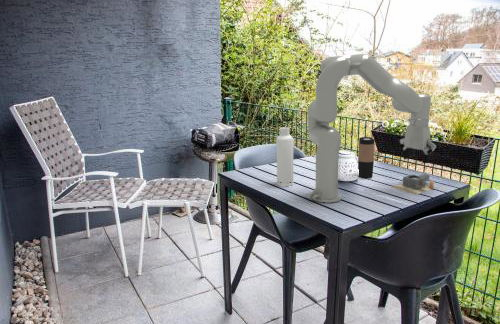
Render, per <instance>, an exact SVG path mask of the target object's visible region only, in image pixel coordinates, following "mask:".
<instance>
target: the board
mask: <svg viewBox="0 0 500 324" xmlns="http://www.w3.org/2000/svg"><path fill="white" fill-rule="evenodd" d="M429 186H430V185H427V184H425V187H424V188H420V189H417V190H414V189H411V188H407V187H404V186H403V183H400V184H397V185H394V186H393V185H392V186H390V188H392V189H395V190H399V191H402V192H406V193H409V194H413V195H418V194H422V193H426V192H429V191H431V190H435V189H436V187H434V186H433V189H430V188H429Z"/></svg>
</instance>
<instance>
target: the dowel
mask: <svg viewBox="0 0 500 324" xmlns="http://www.w3.org/2000/svg"><path fill="white" fill-rule="evenodd" d="M434 184H435V181H434V180H430V179H429V185H428V186H429V188H430V189H432V190H434V189H433V187H434Z"/></svg>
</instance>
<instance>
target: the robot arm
mask: <svg viewBox="0 0 500 324" xmlns="http://www.w3.org/2000/svg"><path fill="white" fill-rule="evenodd" d="M320 72H321V73H320V74H319V77H318V78H317V81H316V86H315V99H313V100H312V101H311V102H310V104H309V106H308V109H307V128H308V137H309V140H310V142H312V143H313V144H314V145H316V146H317V149H316V154H315V188H313V191H312V192H308V193H306V196H307V198H309V199H310V198H312V201H313V200H314V201H315V202H318V203H323V202H325V203H324V204H331V203H332V202H333V203H337V202H339V201H341V200H342V195H341V194H340V193H339V191H338V190H339V158H340V157H339V155H340V148H341V144H342V137H341V133H340V132H339V131H338V129H337V128H335V127H333V126H330V124H331V123H333V122H335V121H336V119H337V118H338V87H339V84H340V83H341V80H343V79H344V77H346V76H359V77H361V78H362V79H363V80H364V81H365V82H366V83H367V84H368V85H369V86H370V87H372V89H374V90H375V91H376V92H378V93H380V94H383V95H385V96H388V97H390V98H392V100H391V106H392V108H393V109H394V110H396V111H398V112H400V113H401V112H402V113H408V114H410V118H408V120H407V122H408V123H409V124H408V125H407V128H406V131H405V134H404V135H405V136H404V137H403V138H401V139H399V143H400V146H401V148H402V150H403V160H408V159H410V154H411V150H410V149H413V150H418V151H419V150H420V151H423V153H424V154H423V155H422V163H423V164H428V163H429V162H430V155H431V154H432V153H433V152H434V151H435V149H436V148H437V145H436V144H435V143H434V142H433V141H431V128H430V126H429V123H430V114H431V113H430V111H431V103H432V100H431V99H432V97H431V95H430V94H426V93H425V94H424V93H423V94H422V93H417V92H416V91H415V90H414V89H413V88H412V87H411V86H410V85H408V84H406V83H405V82H403V81H401V80H400V79H398V78H397V77H396V76H394V75H392V74H391V73H390V72H389V71H388V70H387V69H385V67H383V66H382V65H381V63H379V62H378V61H377V60H376V59H375V58H374V57H373V56H372V55H370V54H367V53H362V54H361V53H359V54H349V55H336V56H328V57H326V58H324V59H323V60H322V61H321V63H320Z"/></svg>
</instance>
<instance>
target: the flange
mask: <svg viewBox="0 0 500 324" xmlns="http://www.w3.org/2000/svg"><path fill="white" fill-rule="evenodd" d="M412 177H417V178H419V179H412ZM428 181H430V174H426V173H424V174H421V175H417V174H410V175H406V176H403V180H402V184H403V186H404V187H407V188H411V189H414V190H417V189H420V188H424V187H425V185H427V184H426V183H427V182H428Z"/></svg>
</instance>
